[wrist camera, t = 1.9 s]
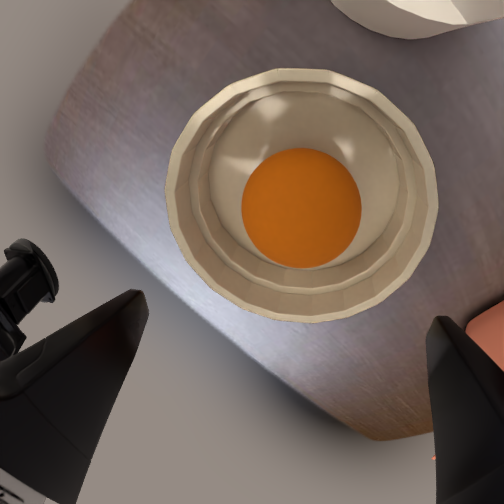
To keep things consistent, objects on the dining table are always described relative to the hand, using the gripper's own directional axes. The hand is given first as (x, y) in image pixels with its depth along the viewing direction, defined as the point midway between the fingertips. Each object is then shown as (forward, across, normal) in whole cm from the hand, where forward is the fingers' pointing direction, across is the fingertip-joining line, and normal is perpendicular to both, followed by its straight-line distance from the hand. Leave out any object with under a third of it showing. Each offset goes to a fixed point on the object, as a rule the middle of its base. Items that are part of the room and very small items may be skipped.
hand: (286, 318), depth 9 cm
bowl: (+11, 0, 0) cm, 11 cm away
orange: (+11, 0, 0) cm, 11 cm away
